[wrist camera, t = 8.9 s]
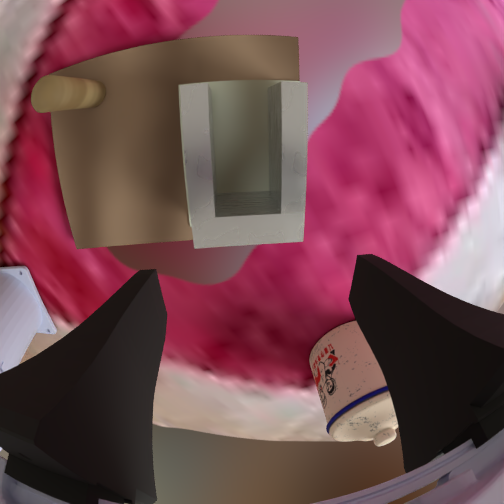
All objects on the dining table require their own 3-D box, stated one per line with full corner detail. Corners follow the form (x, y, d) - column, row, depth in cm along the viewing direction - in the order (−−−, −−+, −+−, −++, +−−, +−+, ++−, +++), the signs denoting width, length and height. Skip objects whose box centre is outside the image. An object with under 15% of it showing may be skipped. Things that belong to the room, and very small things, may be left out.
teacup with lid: (306, 327, 25) (343, 440, 15) (392, 306, 25) (450, 397, 15) (305, 393, 31) (327, 477, 20) (373, 375, 31) (405, 450, 21)
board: (82, 242, 19) (42, 293, 13) (56, 74, 12) (-3, 72, 7) (293, 227, 20) (321, 278, 14) (294, 40, 13) (330, 10, 8)
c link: (287, 213, 18) (303, 241, 14) (200, 218, 18) (194, 248, 14) (288, 88, 14) (307, 82, 11) (190, 91, 14) (180, 85, 10)
